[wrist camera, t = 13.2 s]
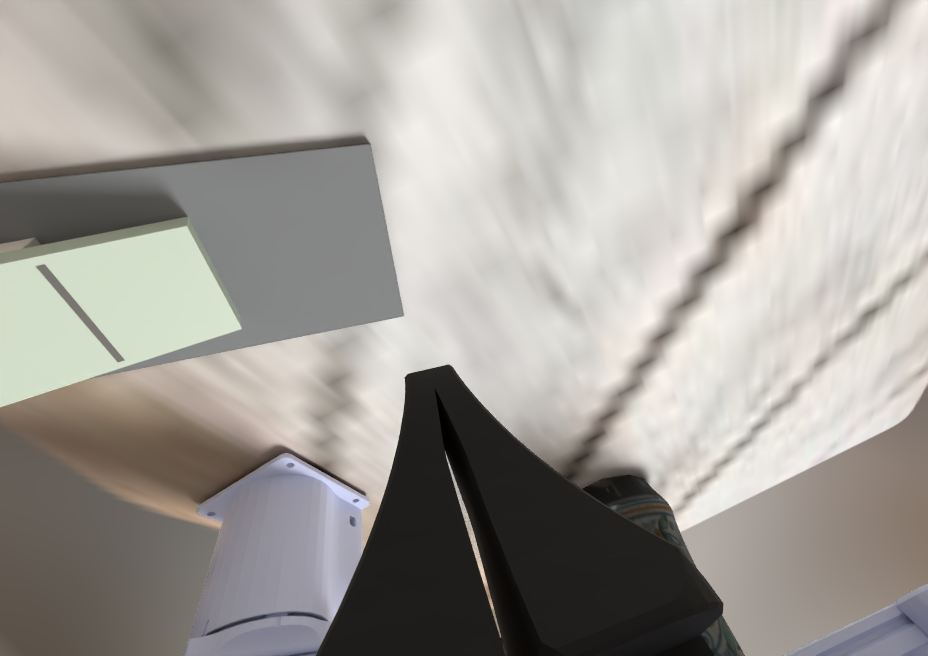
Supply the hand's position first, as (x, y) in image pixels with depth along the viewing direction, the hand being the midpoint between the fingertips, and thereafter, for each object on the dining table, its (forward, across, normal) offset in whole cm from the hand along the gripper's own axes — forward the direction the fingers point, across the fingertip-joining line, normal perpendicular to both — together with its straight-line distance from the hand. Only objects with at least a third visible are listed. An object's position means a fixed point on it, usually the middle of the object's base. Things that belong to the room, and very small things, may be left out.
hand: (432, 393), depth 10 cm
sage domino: (+9, +8, -1) cm, 12 cm away
